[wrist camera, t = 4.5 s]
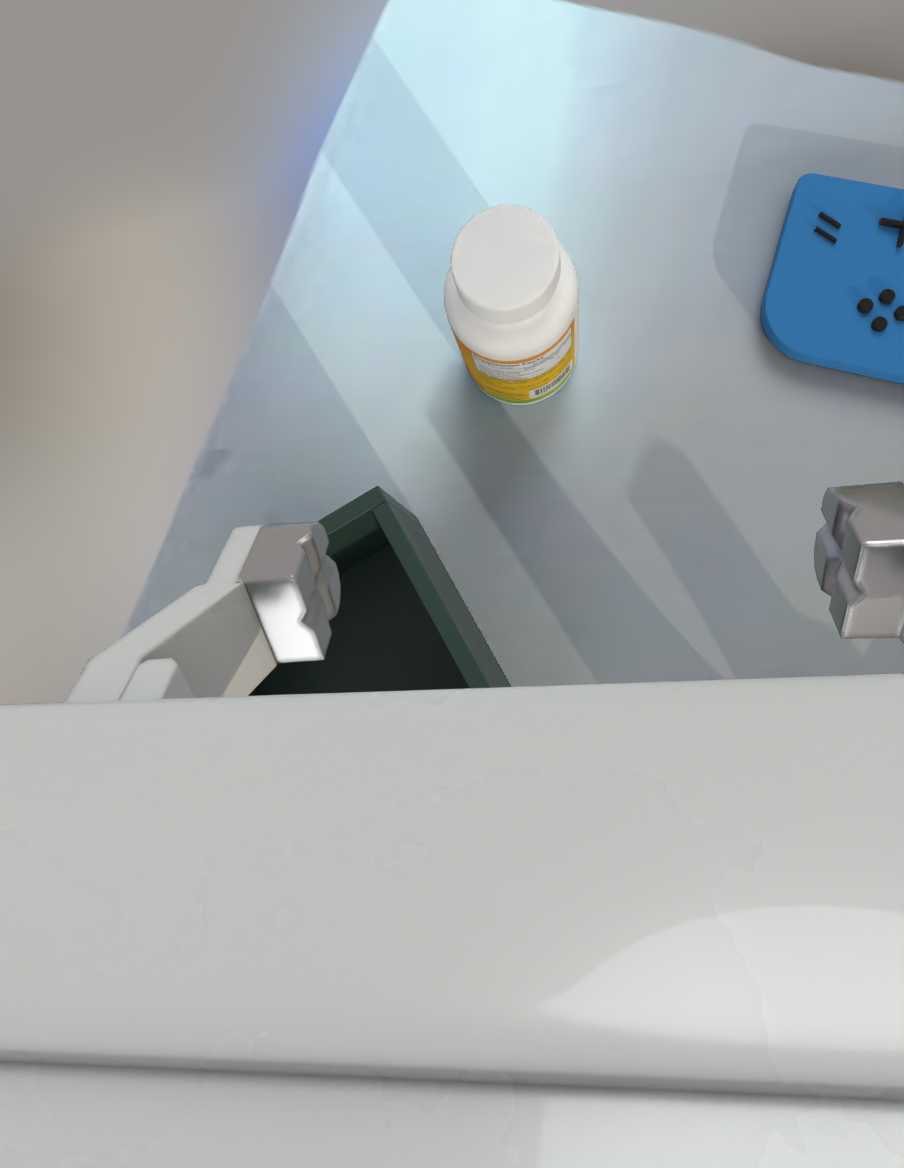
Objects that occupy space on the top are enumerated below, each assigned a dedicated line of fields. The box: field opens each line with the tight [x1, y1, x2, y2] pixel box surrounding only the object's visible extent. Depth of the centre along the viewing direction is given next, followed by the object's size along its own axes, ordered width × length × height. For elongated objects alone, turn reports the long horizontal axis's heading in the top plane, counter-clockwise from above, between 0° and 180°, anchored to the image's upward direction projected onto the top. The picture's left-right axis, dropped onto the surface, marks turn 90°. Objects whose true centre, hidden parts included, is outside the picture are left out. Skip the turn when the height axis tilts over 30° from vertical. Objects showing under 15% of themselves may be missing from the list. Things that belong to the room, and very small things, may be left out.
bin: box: [248, 486, 511, 696], centre depth 34 cm, size 13×11×8 cm
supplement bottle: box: [444, 205, 579, 405], centre depth 34 cm, size 5×5×10 cm
